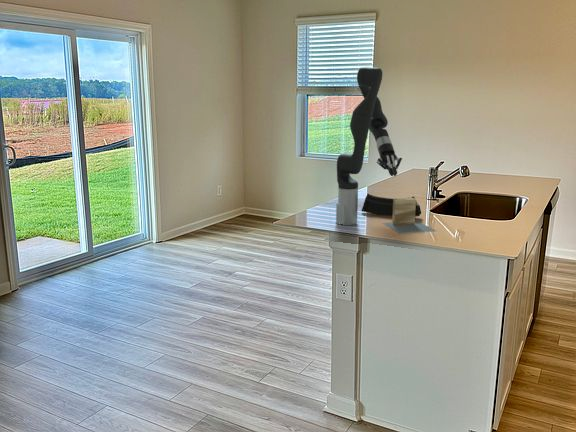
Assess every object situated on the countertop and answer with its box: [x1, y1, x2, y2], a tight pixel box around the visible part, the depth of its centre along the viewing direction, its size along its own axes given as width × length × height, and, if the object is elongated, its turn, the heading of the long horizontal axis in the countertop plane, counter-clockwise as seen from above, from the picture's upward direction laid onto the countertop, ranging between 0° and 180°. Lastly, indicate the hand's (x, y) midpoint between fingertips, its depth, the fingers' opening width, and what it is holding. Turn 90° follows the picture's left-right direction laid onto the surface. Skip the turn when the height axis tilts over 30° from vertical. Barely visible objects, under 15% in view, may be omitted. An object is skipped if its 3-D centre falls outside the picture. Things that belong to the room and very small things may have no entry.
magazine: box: [361, 193, 422, 218], centre depth 259 cm, size 17×3×30 cm
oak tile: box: [391, 197, 417, 225], centre depth 240 cm, size 3×10×12 cm, turn 102°
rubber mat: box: [382, 220, 437, 234], centre depth 236 cm, size 20×18×1 cm
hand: (394, 174), depth 249 cm, fingers closed
